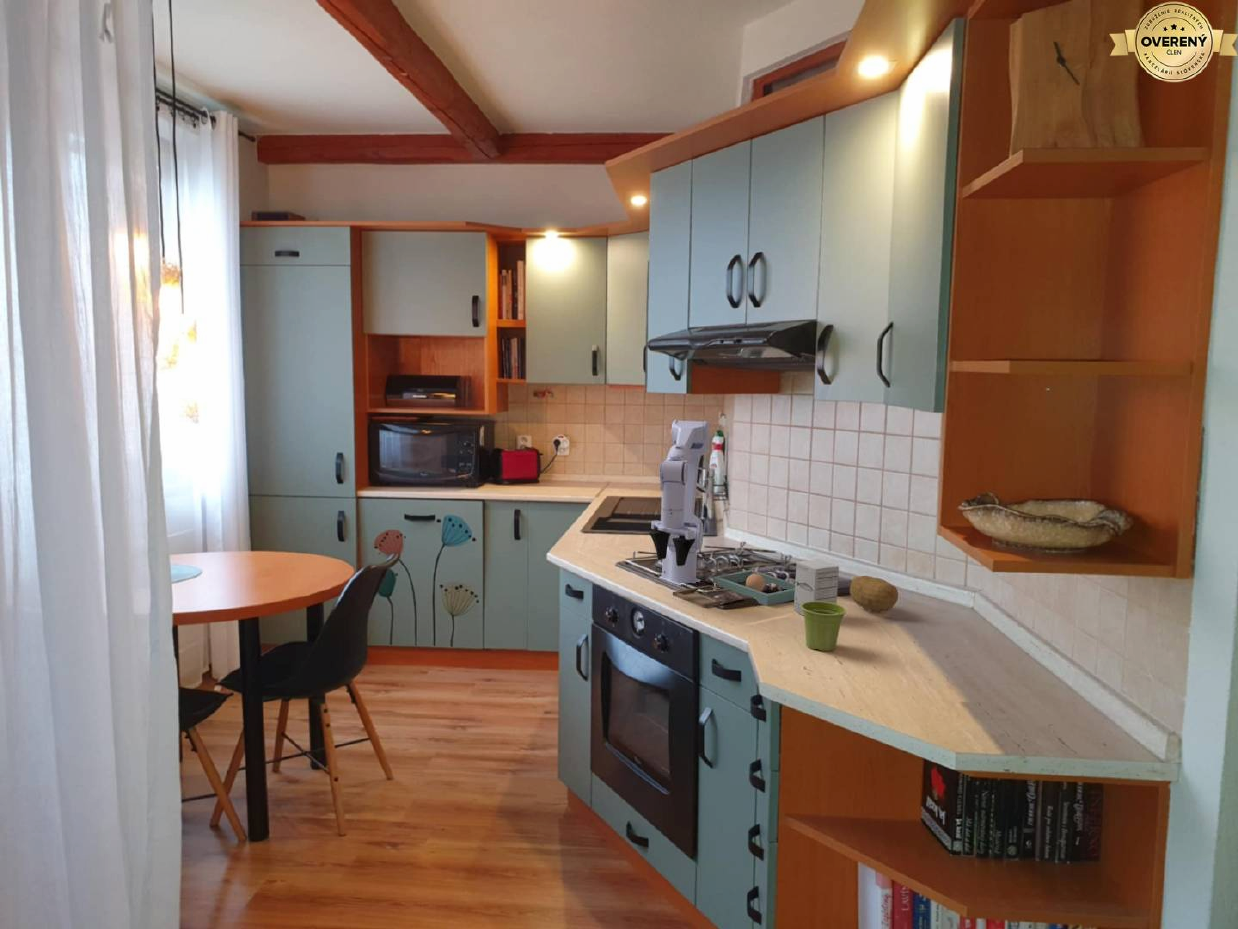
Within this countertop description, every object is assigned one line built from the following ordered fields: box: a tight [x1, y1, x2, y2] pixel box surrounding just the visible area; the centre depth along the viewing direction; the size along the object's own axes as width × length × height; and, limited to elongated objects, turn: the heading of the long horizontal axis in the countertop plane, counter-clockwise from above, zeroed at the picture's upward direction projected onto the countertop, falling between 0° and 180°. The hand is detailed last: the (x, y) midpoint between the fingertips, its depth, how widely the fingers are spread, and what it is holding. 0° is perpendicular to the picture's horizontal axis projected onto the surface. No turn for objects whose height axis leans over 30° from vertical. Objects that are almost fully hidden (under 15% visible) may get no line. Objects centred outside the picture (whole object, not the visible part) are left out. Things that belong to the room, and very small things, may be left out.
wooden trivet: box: [672, 584, 736, 609], centre depth 209 cm, size 13×13×1 cm
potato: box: [849, 575, 899, 613], centre depth 203 cm, size 10×14×8 cm
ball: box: [745, 574, 766, 592], centre depth 214 cm, size 5×5×5 cm
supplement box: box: [793, 558, 840, 616], centre depth 198 cm, size 7×7×13 cm
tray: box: [712, 569, 795, 607], centre depth 215 cm, size 20×14×3 cm
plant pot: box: [801, 601, 847, 652], centre depth 176 cm, size 9×9×9 cm
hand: (671, 562), depth 206 cm, fingers open, 7 cm apart
